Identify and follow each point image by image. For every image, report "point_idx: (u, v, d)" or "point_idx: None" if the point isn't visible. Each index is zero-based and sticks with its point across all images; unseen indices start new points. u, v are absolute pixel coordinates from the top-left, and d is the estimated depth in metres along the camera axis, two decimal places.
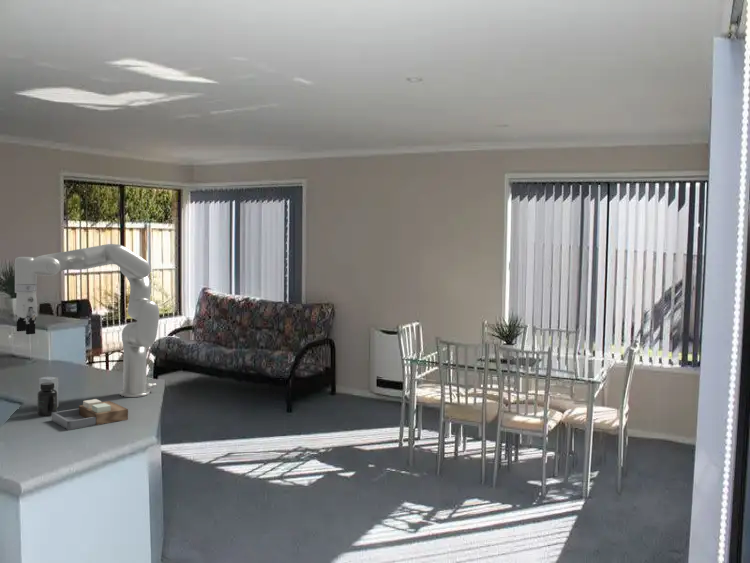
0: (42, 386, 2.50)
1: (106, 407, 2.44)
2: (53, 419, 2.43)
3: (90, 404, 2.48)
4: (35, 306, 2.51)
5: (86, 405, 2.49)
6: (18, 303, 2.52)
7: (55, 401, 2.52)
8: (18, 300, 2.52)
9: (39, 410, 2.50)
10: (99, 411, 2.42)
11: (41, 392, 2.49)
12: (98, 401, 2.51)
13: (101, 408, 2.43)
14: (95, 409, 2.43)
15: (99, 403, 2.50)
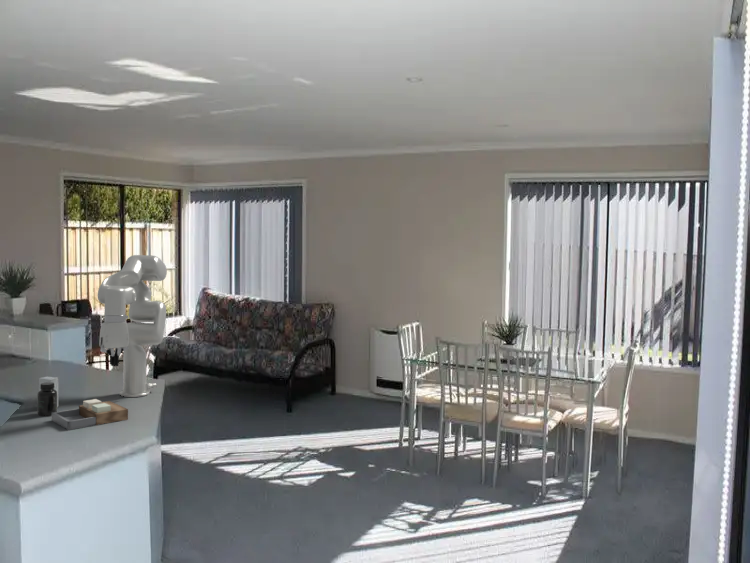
0: (42, 386, 2.50)
1: (106, 407, 2.44)
2: (53, 419, 2.43)
3: (90, 404, 2.48)
4: None
5: (86, 405, 2.49)
6: (116, 334, 2.53)
7: (55, 401, 2.52)
8: (116, 331, 2.53)
9: (39, 410, 2.50)
10: (99, 411, 2.42)
11: (41, 392, 2.49)
12: (98, 401, 2.51)
13: (101, 408, 2.43)
14: (95, 409, 2.43)
15: (99, 403, 2.50)
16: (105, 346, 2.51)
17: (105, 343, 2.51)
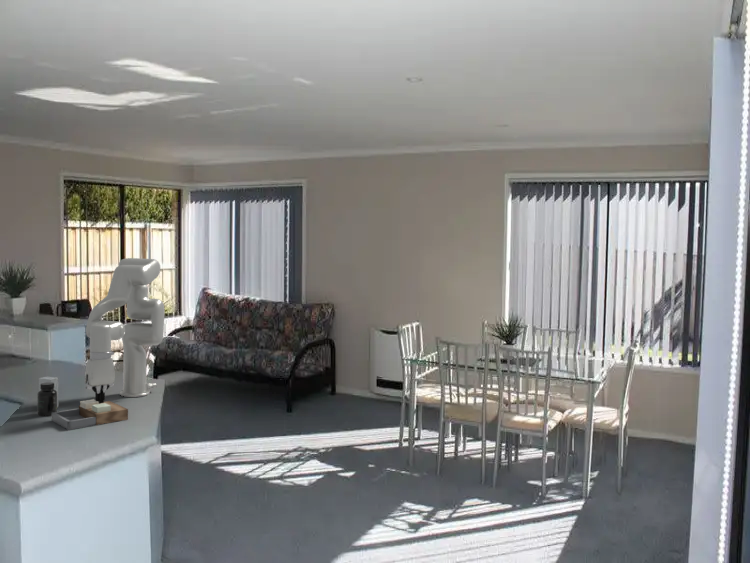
0: (42, 386, 2.50)
1: (106, 407, 2.44)
2: (53, 419, 2.43)
3: (87, 404, 2.47)
4: None
5: (83, 405, 2.48)
6: (101, 371, 2.50)
7: (55, 401, 2.52)
8: (101, 368, 2.50)
9: (39, 410, 2.50)
10: (99, 411, 2.42)
11: (41, 392, 2.49)
12: (95, 401, 2.50)
13: (101, 408, 2.43)
14: (95, 409, 2.43)
15: (96, 403, 2.49)
16: (90, 383, 2.48)
17: (90, 380, 2.48)
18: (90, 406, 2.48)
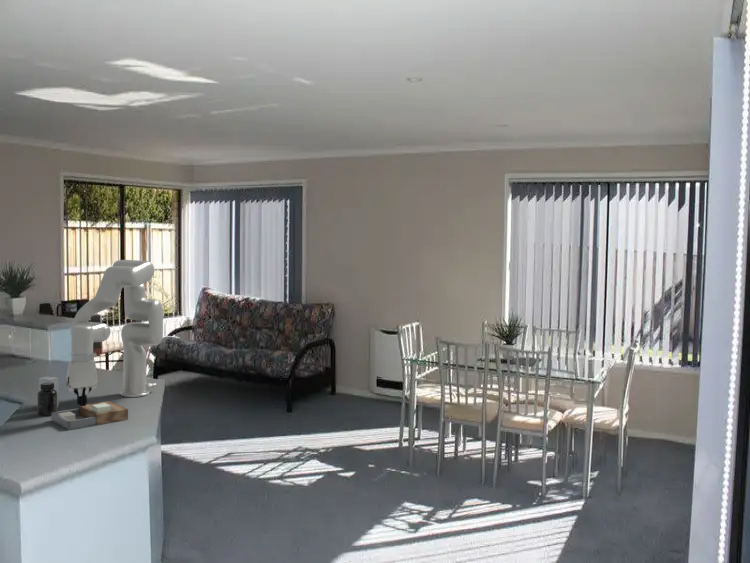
0: (42, 386, 2.50)
1: (106, 407, 2.44)
2: (53, 419, 2.43)
3: (73, 418, 2.44)
4: None
5: None
6: (83, 373, 2.45)
7: (55, 401, 2.52)
8: (83, 370, 2.45)
9: (39, 410, 2.50)
10: (99, 411, 2.42)
11: (41, 392, 2.49)
12: None
13: (101, 408, 2.43)
14: (95, 409, 2.43)
15: None
16: (72, 386, 2.43)
17: (72, 383, 2.43)
18: (70, 417, 2.43)
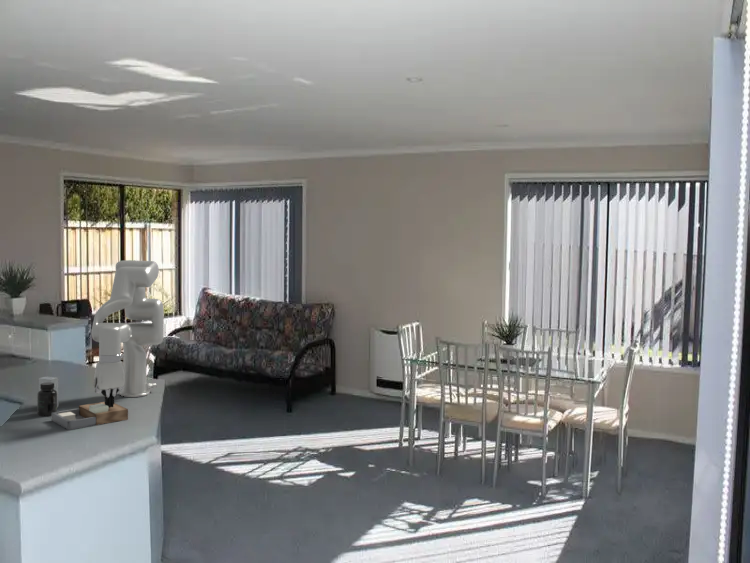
0: (42, 386, 2.50)
1: (104, 407, 2.44)
2: (53, 419, 2.43)
3: (73, 418, 2.44)
4: None
5: None
6: (111, 374, 2.45)
7: (55, 401, 2.52)
8: (111, 371, 2.45)
9: (39, 410, 2.49)
10: (97, 411, 2.42)
11: (41, 392, 2.49)
12: None
13: (99, 408, 2.42)
14: (93, 409, 2.42)
15: None
16: (100, 387, 2.42)
17: (100, 384, 2.42)
18: (70, 417, 2.43)
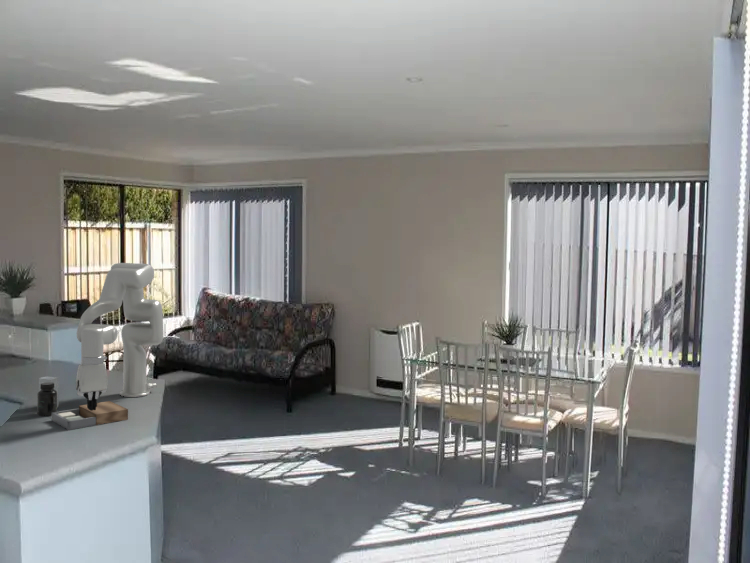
0: (42, 386, 2.50)
1: None
2: (53, 419, 2.43)
3: None
4: None
5: None
6: (93, 377, 2.40)
7: (55, 401, 2.52)
8: (93, 374, 2.40)
9: (39, 410, 2.49)
10: None
11: (41, 392, 2.49)
12: None
13: None
14: None
15: None
16: (82, 390, 2.38)
17: (82, 387, 2.38)
18: None
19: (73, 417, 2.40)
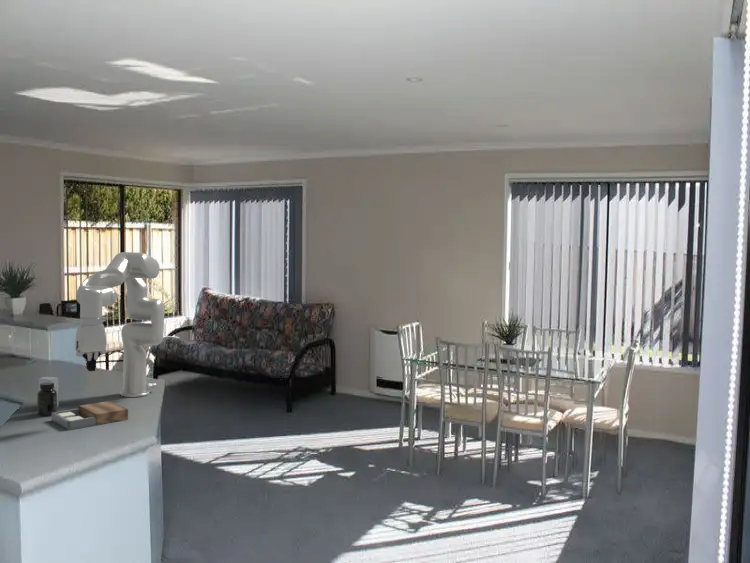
0: (42, 386, 2.50)
1: None
2: (53, 419, 2.43)
3: None
4: None
5: None
6: (92, 337, 2.40)
7: (55, 401, 2.52)
8: (92, 334, 2.40)
9: (39, 410, 2.49)
10: None
11: (41, 392, 2.49)
12: None
13: None
14: None
15: None
16: (81, 350, 2.38)
17: (81, 347, 2.38)
18: None
19: (73, 417, 2.40)
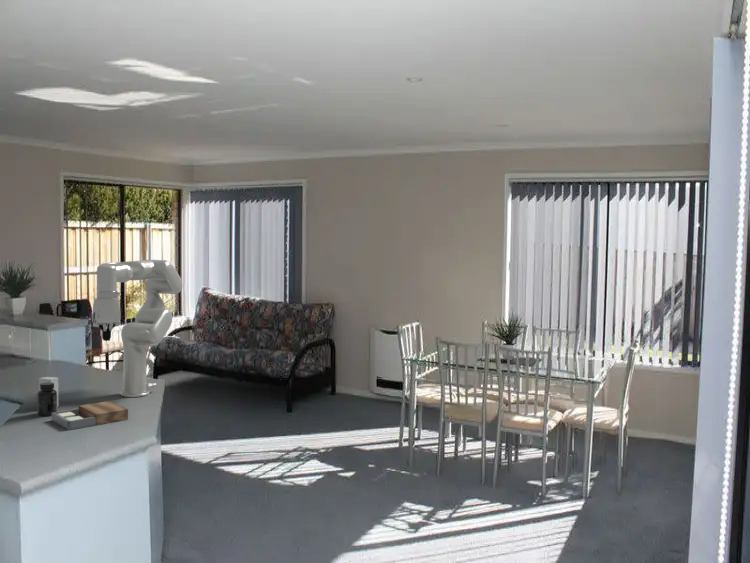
0: (42, 386, 2.50)
1: None
2: (53, 419, 2.43)
3: None
4: None
5: None
6: (108, 310, 2.63)
7: (55, 401, 2.52)
8: (108, 307, 2.62)
9: (39, 410, 2.49)
10: None
11: (41, 392, 2.49)
12: None
13: None
14: None
15: None
16: (97, 321, 2.60)
17: (97, 318, 2.60)
18: None
19: (73, 417, 2.40)
